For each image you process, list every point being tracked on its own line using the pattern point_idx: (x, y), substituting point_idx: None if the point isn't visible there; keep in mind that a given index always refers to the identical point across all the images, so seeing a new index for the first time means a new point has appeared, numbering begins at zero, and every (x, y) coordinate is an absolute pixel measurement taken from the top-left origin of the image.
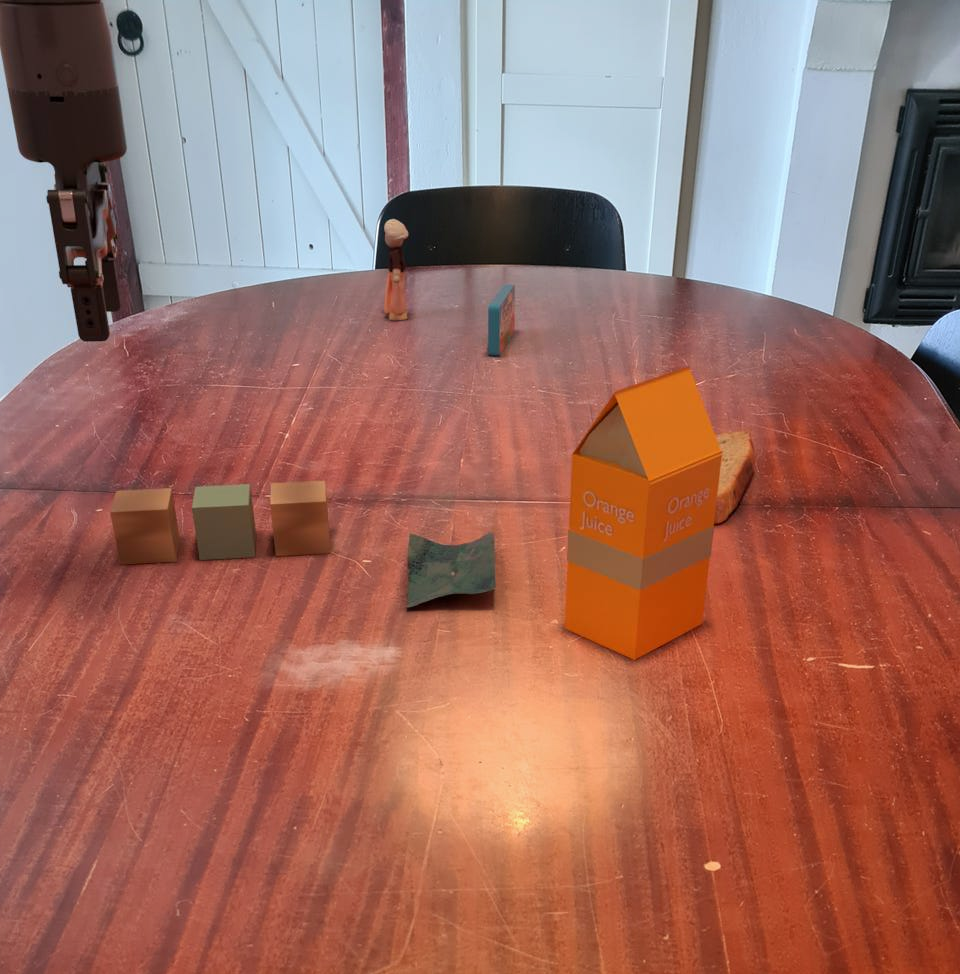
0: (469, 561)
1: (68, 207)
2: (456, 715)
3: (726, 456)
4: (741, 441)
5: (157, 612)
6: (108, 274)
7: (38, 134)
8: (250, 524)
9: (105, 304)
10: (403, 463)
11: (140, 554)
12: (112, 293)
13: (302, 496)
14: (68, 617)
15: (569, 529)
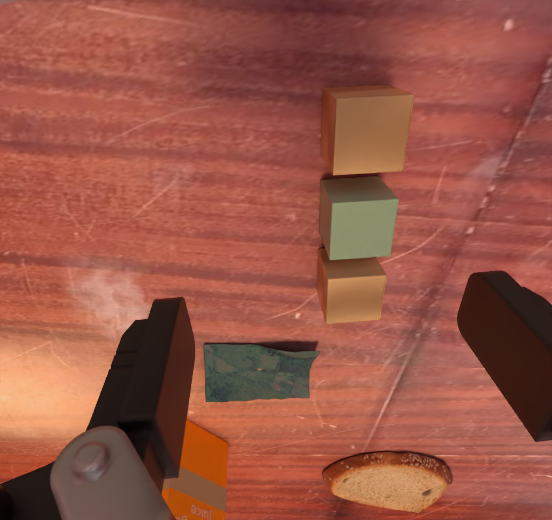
0: (269, 381)
1: None
2: (54, 370)
3: (394, 497)
4: (409, 506)
5: (197, 151)
6: (518, 389)
7: None
8: (325, 248)
9: (475, 307)
10: None
11: (323, 118)
12: (481, 347)
13: (341, 305)
14: (181, 44)
15: (169, 487)
